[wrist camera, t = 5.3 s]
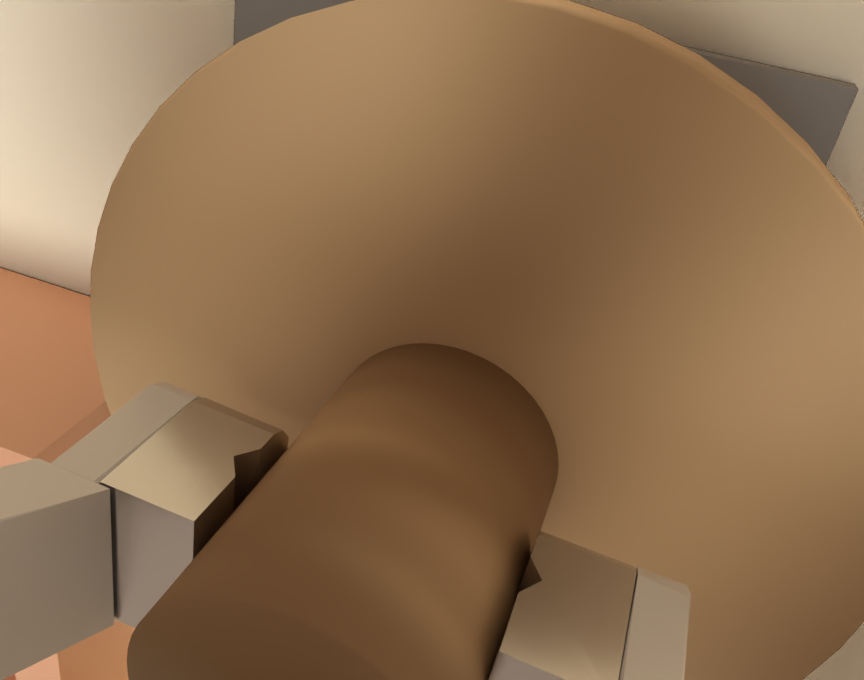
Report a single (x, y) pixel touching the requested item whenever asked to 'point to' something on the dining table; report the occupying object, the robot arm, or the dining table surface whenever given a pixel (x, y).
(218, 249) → the lid
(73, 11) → the dining table surface
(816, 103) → the mat
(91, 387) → the pink hollow square box
